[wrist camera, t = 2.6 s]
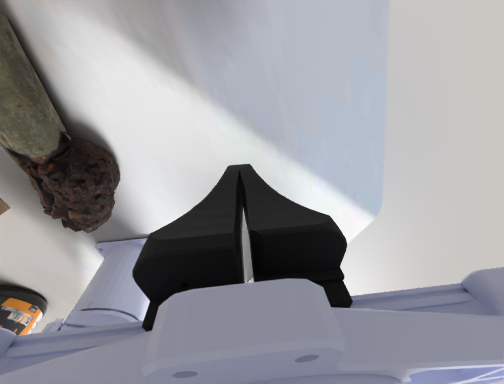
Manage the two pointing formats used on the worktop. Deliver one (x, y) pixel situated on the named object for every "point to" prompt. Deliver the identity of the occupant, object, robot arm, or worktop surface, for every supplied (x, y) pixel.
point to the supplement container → (20, 309)
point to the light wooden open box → (3, 207)
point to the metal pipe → (51, 146)
